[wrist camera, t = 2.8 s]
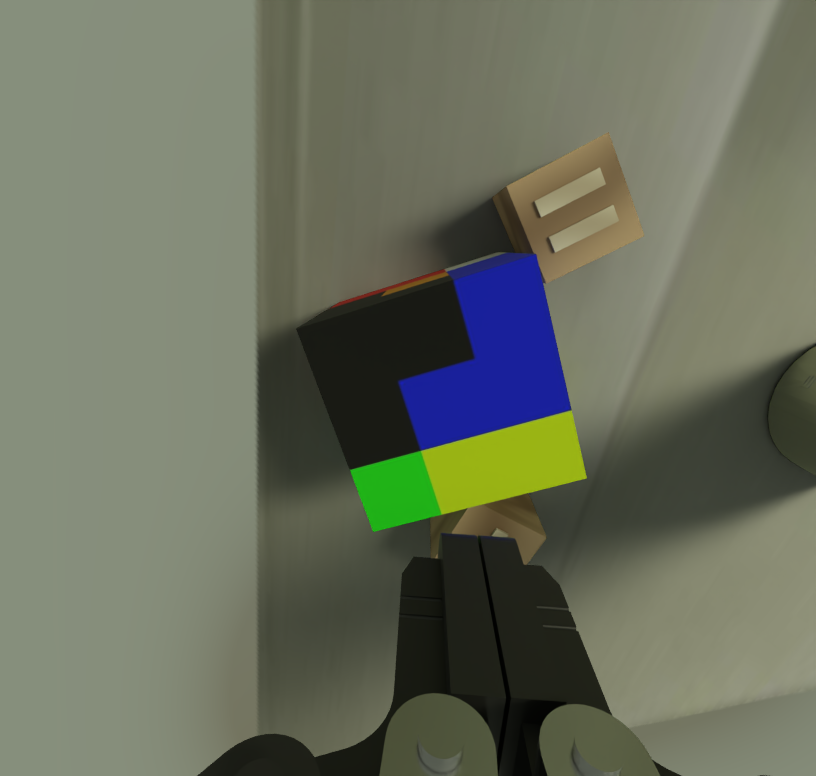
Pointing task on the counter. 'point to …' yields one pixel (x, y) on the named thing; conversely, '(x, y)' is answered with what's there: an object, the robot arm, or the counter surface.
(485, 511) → the one bar block
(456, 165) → the counter surface
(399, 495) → the puzzle toy
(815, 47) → the counter surface
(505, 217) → the two bar block
